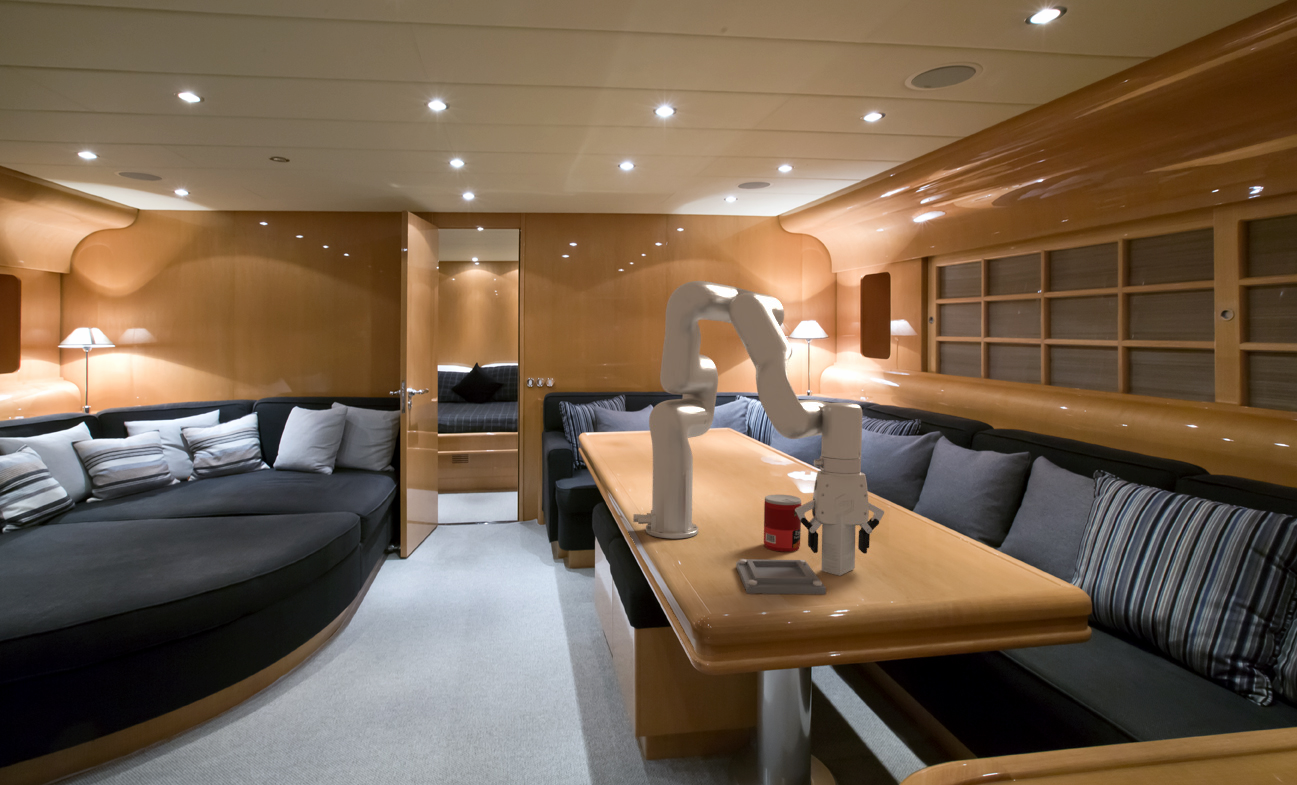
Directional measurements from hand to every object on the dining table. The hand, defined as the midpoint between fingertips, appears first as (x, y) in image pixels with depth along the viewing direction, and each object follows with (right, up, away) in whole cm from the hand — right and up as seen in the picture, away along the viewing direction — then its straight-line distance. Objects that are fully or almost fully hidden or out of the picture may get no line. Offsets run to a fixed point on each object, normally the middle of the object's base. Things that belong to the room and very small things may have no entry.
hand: (838, 551), depth 127 cm
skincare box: (0, -4, 0) cm, 4 cm away
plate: (-13, -4, -6) cm, 15 cm away
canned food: (-8, -3, +15) cm, 17 cm away
